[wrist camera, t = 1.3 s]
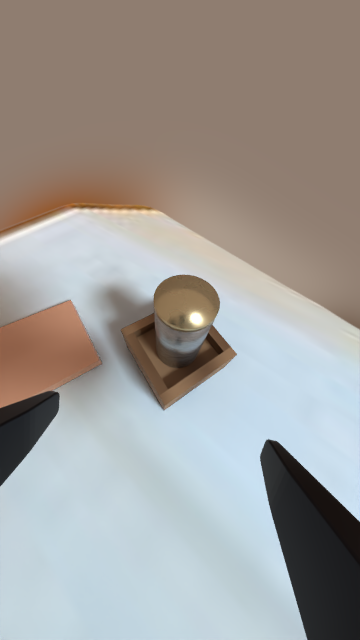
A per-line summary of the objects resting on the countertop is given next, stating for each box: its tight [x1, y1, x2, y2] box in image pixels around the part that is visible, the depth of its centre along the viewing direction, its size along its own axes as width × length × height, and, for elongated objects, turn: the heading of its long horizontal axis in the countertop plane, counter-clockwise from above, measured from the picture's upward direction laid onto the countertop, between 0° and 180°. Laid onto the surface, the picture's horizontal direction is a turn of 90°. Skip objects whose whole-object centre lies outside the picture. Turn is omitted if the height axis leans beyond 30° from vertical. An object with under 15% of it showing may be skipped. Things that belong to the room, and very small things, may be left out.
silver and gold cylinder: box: [154, 275, 220, 368], centre depth 17 cm, size 5×5×9 cm
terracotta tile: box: [0, 300, 102, 408], centre depth 22 cm, size 10×10×1 cm
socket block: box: [121, 313, 237, 410], centre depth 22 cm, size 9×9×4 cm
